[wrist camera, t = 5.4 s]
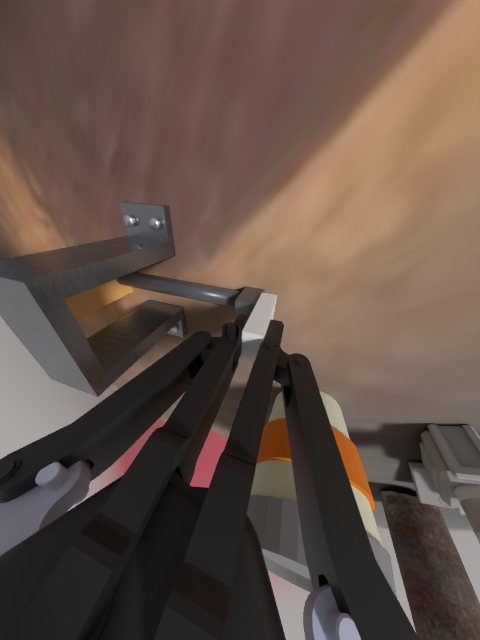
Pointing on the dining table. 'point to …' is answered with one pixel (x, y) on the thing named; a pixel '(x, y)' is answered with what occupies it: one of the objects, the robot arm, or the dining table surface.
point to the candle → (431, 570)
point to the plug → (123, 286)
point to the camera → (450, 470)
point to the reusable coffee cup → (281, 501)
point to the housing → (79, 276)
